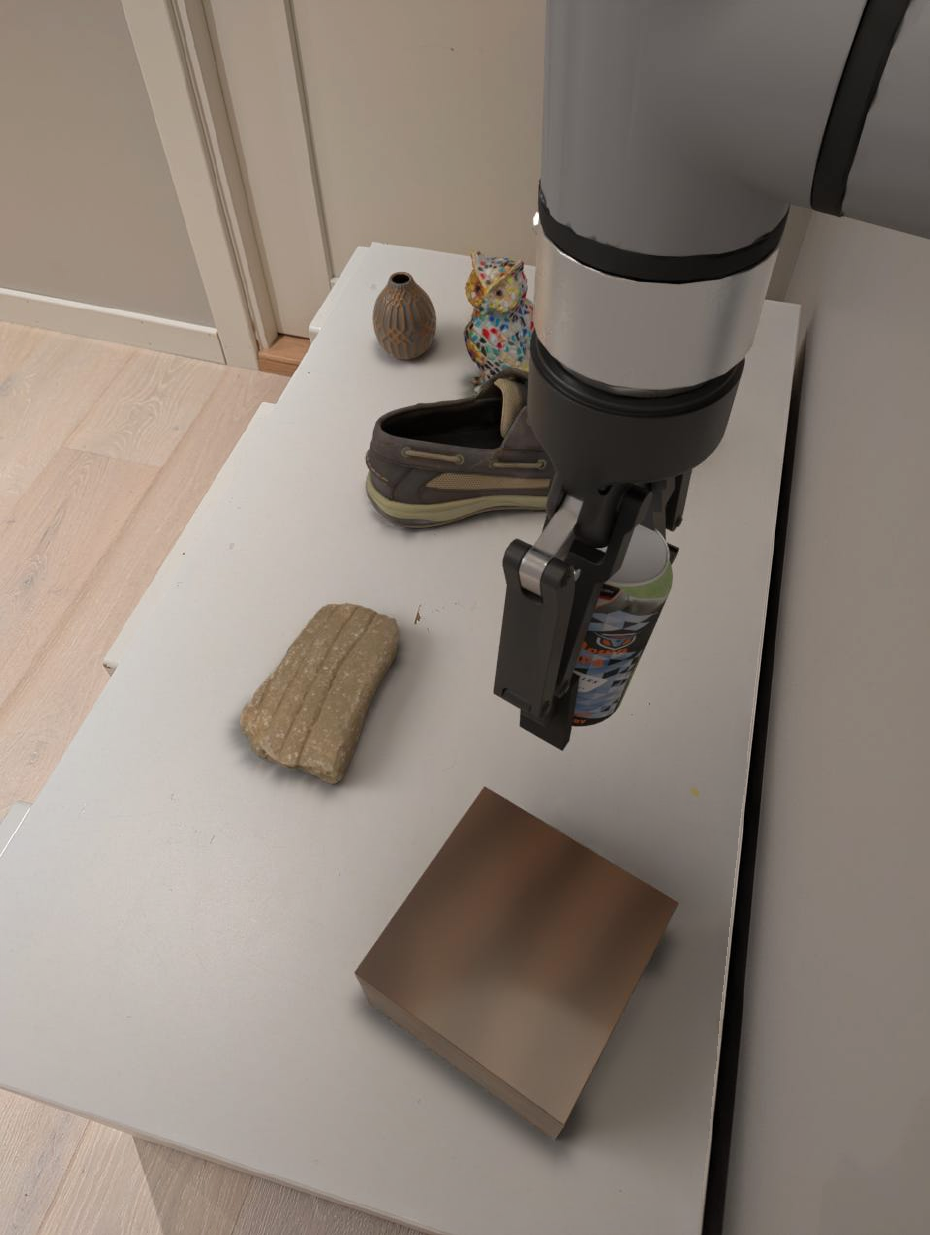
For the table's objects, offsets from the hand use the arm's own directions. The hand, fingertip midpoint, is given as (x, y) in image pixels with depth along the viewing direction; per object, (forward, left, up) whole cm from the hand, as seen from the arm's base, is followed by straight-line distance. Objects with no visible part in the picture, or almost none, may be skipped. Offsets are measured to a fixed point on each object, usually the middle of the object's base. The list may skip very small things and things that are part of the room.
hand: (581, 680), depth 48 cm
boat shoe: (+21, -28, -19) cm, 40 cm away
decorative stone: (+21, +1, -19) cm, 28 cm away
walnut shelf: (-3, +11, -19) cm, 22 cm away
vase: (+42, -39, -19) cm, 60 cm away
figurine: (+29, -39, -19) cm, 52 cm away
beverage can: (0, 0, -1) cm, 1 cm away
